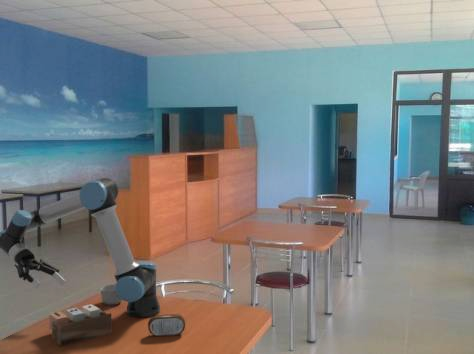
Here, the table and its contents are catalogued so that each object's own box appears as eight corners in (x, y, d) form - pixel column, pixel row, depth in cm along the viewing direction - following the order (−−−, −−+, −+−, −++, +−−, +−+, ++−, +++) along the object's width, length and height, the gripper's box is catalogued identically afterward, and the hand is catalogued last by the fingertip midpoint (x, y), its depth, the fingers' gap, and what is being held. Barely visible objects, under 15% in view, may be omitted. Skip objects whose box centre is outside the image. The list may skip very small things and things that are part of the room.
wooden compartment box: (52, 338, 205) (51, 319, 205) (101, 326, 219) (100, 307, 218) (61, 346, 198) (61, 326, 198) (111, 332, 212) (111, 313, 211)
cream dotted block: (82, 320, 220) (81, 305, 219) (91, 317, 223) (91, 303, 222) (90, 325, 214) (90, 310, 213) (100, 322, 217) (100, 308, 216)
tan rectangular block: (49, 328, 211) (49, 313, 210) (60, 325, 213) (59, 310, 213) (57, 333, 205) (56, 318, 204) (68, 331, 207) (67, 315, 207)
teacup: (118, 307, 242) (117, 291, 241) (96, 306, 244) (96, 289, 244) (130, 298, 256) (129, 282, 255) (109, 296, 258) (109, 281, 257)
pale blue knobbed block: (66, 323, 215) (65, 309, 215) (76, 321, 218) (76, 306, 217) (74, 329, 209) (73, 314, 209) (84, 327, 212) (84, 312, 211)
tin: (185, 332, 213) (185, 312, 212) (185, 335, 210) (185, 315, 209) (148, 334, 211) (147, 314, 210) (148, 337, 207) (147, 317, 207)
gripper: (40, 261, 236) (69, 289, 226) (-7, 264, 213) (22, 294, 204) (47, 247, 234) (76, 274, 225) (1, 249, 212) (31, 278, 203)
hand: (51, 284), depth 215 cm, fingers open, 13 cm apart
